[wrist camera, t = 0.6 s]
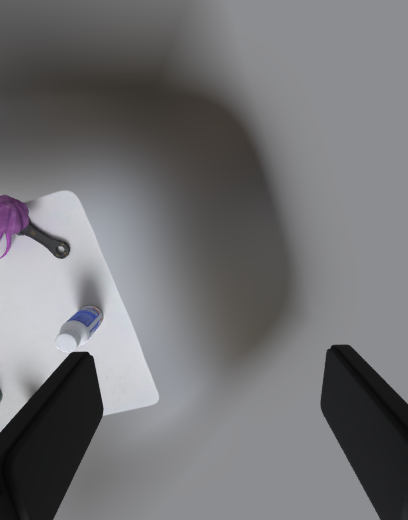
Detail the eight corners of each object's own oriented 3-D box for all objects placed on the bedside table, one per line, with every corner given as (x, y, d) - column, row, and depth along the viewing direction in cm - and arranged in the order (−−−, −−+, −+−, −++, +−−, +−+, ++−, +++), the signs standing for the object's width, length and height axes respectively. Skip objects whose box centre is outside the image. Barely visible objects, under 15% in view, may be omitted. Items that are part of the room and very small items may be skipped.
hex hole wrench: (72, 246, 45) (73, 245, 45) (-24, 186, 42) (-21, 186, 43) (62, 263, 46) (64, 262, 46) (-32, 205, 43) (-29, 205, 44)
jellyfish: (-41, 262, 40) (-27, 201, 34) (-21, 238, 45) (-5, 181, 38) (5, 274, 44) (26, 222, 37) (18, 251, 49) (40, 201, 42)
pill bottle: (75, 308, 49) (44, 333, 40) (98, 302, 49) (72, 326, 39) (85, 329, 51) (57, 358, 41) (107, 323, 50) (84, 352, 41)
